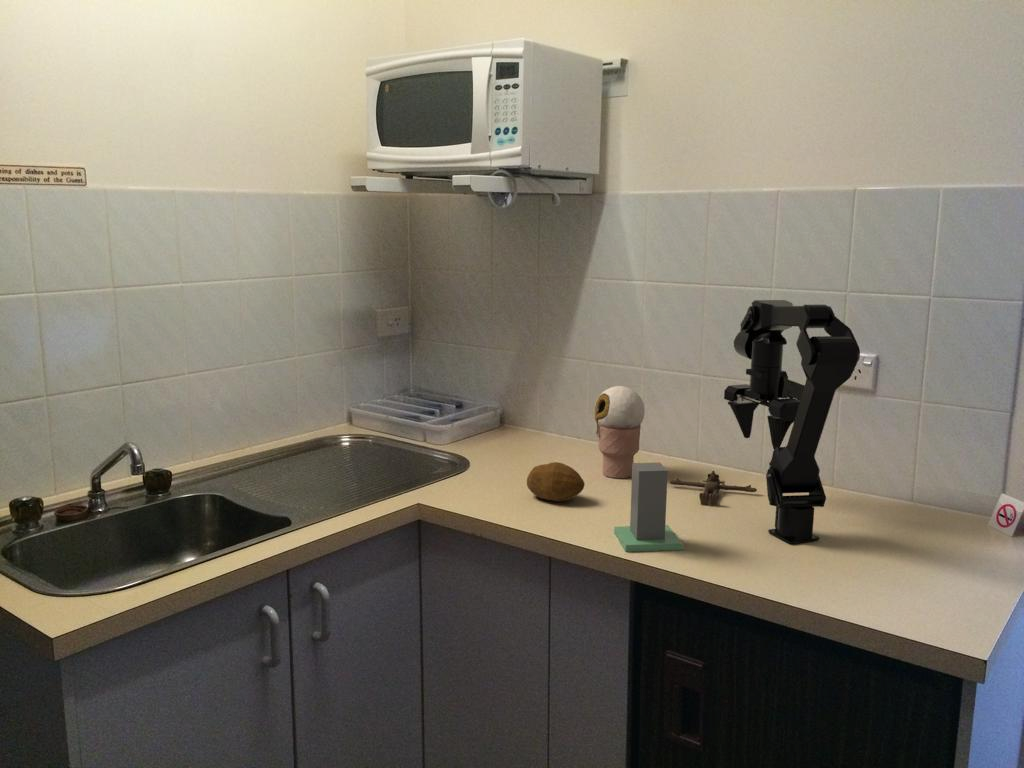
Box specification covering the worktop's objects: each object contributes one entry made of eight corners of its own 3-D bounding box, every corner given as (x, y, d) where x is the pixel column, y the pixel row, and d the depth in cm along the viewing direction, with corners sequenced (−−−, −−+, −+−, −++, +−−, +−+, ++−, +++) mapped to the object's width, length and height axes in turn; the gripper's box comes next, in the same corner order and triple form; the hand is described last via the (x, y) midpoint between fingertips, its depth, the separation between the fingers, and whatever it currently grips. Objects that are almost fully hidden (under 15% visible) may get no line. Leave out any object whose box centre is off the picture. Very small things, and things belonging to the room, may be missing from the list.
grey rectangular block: (657, 529, 157) (659, 462, 154) (664, 539, 152) (667, 470, 149) (629, 530, 156) (632, 463, 154) (636, 540, 151) (639, 471, 149)
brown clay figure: (663, 488, 175) (672, 462, 188) (662, 508, 176) (671, 481, 190) (755, 497, 170) (758, 470, 183) (754, 517, 171) (757, 489, 184)
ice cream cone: (583, 473, 194) (585, 385, 191) (616, 464, 201) (619, 380, 198) (618, 484, 186) (621, 393, 182) (652, 475, 193) (655, 387, 189)
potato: (532, 490, 183) (533, 454, 181) (589, 496, 178) (590, 460, 177) (519, 501, 175) (520, 464, 174) (579, 509, 171) (580, 471, 169)
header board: (667, 531, 159) (668, 517, 158) (682, 549, 150) (682, 535, 150) (614, 532, 158) (614, 519, 157) (625, 551, 149) (625, 537, 149)
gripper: (833, 370, 162) (827, 451, 165) (770, 355, 179) (765, 429, 182) (784, 374, 158) (778, 457, 161) (724, 358, 175) (720, 433, 178)
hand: (761, 443), depth 170 cm, fingers open, 9 cm apart
